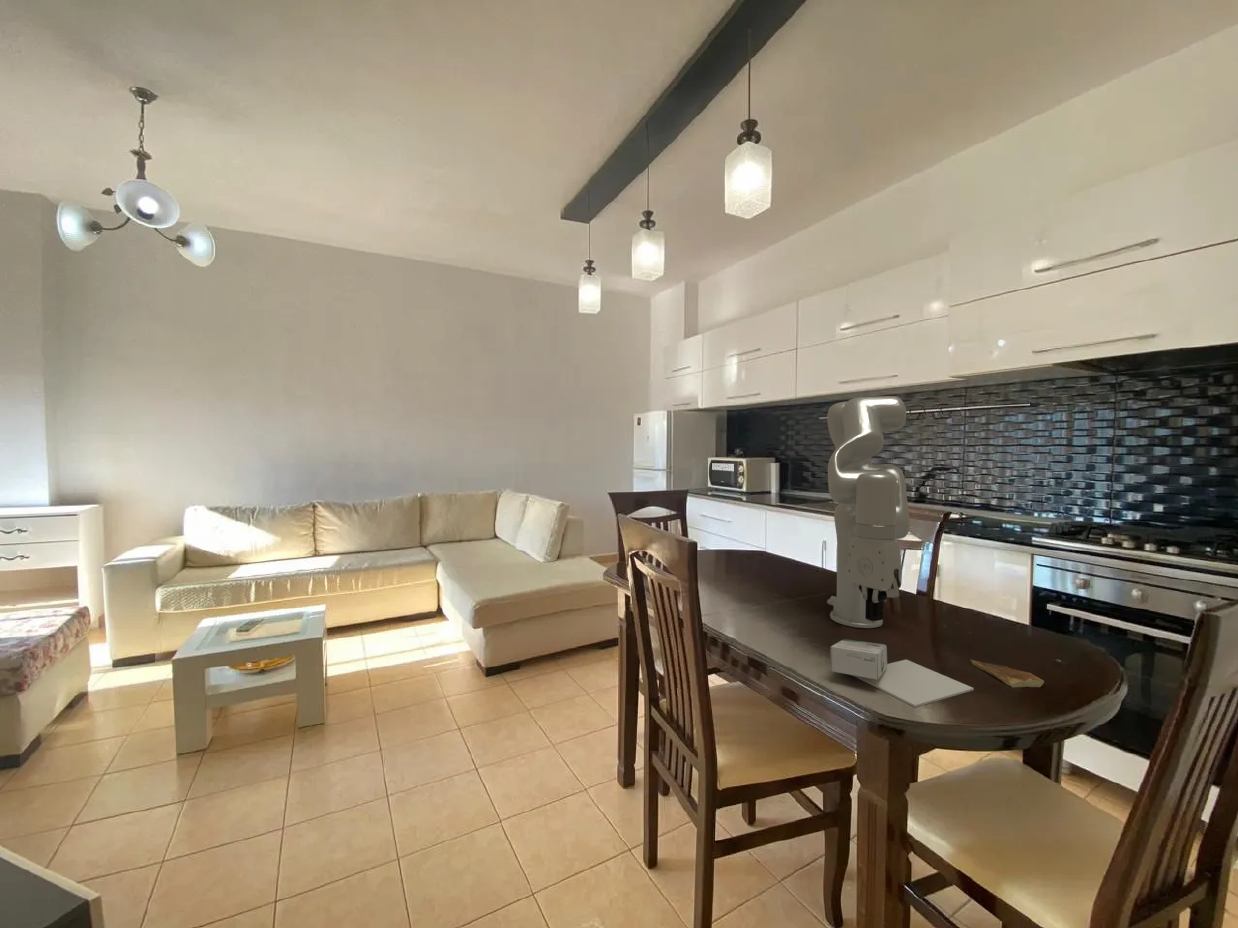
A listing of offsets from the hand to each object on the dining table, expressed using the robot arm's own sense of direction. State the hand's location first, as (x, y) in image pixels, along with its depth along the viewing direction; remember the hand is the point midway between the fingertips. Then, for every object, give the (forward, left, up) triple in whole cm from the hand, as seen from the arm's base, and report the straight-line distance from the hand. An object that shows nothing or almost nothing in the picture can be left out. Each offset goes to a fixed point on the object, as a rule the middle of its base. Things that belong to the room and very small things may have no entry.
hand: (874, 619), depth 107 cm
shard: (+14, +19, -11) cm, 26 cm away
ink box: (-1, -2, -7) cm, 8 cm away
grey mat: (+8, 0, -10) cm, 13 cm away
